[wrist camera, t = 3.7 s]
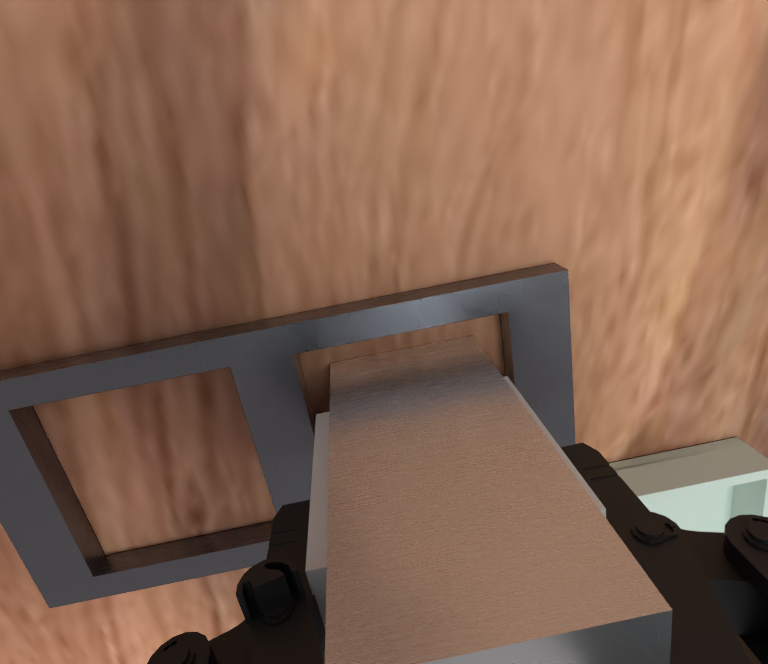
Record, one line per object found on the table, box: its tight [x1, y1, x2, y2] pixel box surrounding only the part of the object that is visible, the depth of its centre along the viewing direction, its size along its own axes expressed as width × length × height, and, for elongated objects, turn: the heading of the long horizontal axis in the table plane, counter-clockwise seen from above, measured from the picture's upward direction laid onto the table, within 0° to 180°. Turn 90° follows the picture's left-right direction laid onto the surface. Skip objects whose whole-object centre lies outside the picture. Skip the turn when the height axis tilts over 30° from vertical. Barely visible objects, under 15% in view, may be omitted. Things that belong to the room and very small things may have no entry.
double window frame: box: [0, 263, 575, 608], centre depth 18 cm, size 20×9×1 cm, turn 100°
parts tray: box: [609, 437, 768, 533], centre depth 20 cm, size 8×8×2 cm
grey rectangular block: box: [325, 335, 672, 664], centre depth 13 cm, size 5×5×11 cm
